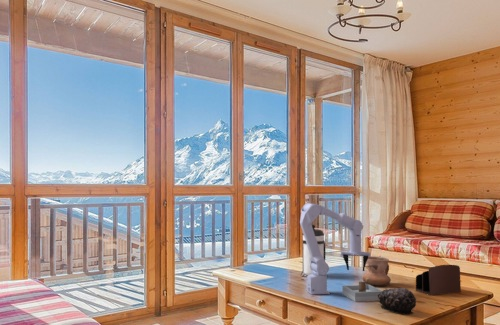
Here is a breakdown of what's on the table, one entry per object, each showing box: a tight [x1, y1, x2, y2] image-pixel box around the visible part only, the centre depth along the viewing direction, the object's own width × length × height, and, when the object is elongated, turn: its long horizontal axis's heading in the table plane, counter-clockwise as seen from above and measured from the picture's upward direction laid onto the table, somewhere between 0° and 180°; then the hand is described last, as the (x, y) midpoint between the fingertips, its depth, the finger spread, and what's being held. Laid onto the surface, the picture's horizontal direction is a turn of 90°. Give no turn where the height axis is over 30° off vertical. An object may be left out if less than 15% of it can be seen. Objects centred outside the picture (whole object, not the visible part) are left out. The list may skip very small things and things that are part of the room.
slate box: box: [342, 284, 383, 303], centre depth 200 cm, size 14×14×4 cm
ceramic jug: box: [361, 255, 392, 287], centre depth 226 cm, size 18×14×14 cm
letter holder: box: [415, 264, 462, 296], centre depth 212 cm, size 10×20×14 cm, turn 111°
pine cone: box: [378, 287, 417, 315], centre depth 179 cm, size 10×18×10 cm, turn 39°
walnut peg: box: [358, 280, 367, 292], centre depth 200 cm, size 3×3×7 cm
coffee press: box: [300, 224, 326, 277], centre depth 248 cm, size 17×16×30 cm
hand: (355, 270), depth 213 cm, fingers open, 7 cm apart
